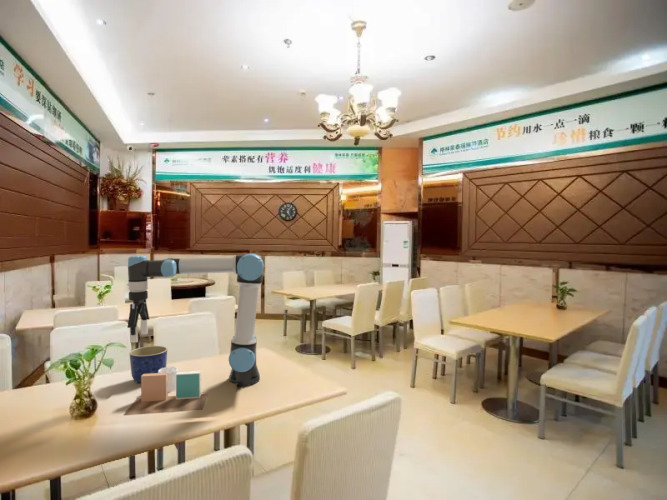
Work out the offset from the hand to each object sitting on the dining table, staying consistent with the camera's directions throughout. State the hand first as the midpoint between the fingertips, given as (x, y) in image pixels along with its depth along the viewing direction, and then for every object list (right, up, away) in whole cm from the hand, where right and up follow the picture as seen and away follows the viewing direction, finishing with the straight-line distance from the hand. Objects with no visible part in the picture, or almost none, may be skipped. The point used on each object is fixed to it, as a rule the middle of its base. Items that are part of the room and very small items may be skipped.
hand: (139, 338), depth 167 cm
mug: (+8, -27, +6) cm, 29 cm away
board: (+17, -27, -8) cm, 33 cm away
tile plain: (+9, -26, -4) cm, 28 cm away
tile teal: (+23, -26, -2) cm, 34 cm away
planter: (-6, -26, +20) cm, 34 cm away
